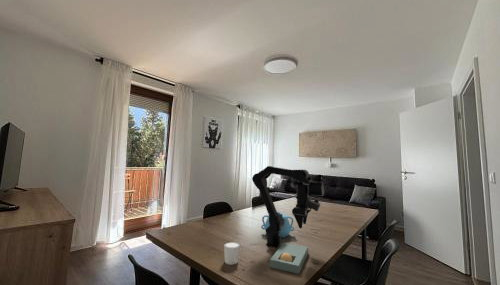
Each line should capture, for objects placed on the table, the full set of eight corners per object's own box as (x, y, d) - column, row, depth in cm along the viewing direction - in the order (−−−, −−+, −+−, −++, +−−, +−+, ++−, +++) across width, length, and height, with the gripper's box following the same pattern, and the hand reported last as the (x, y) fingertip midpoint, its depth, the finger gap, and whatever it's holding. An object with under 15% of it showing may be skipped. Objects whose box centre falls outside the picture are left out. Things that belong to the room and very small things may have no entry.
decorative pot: (279, 229, 141) (279, 208, 143) (296, 236, 128) (296, 213, 129) (259, 233, 132) (259, 210, 134) (275, 241, 119) (275, 215, 120)
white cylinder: (239, 258, 96) (239, 242, 96) (239, 265, 89) (239, 247, 90) (224, 257, 95) (224, 241, 96) (222, 265, 89) (223, 247, 89)
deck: (269, 267, 88) (269, 259, 88) (283, 248, 108) (283, 242, 108) (298, 273, 83) (298, 265, 83) (307, 253, 103) (308, 246, 103)
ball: (281, 249, 92) (283, 255, 94) (277, 260, 88) (279, 266, 90) (292, 252, 89) (294, 258, 92) (289, 263, 86) (291, 270, 88)
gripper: (315, 197, 97) (316, 233, 95) (321, 193, 113) (322, 223, 111) (291, 195, 101) (291, 229, 100) (300, 192, 118) (300, 221, 116)
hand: (302, 226), depth 107 cm, fingers open, 9 cm apart
